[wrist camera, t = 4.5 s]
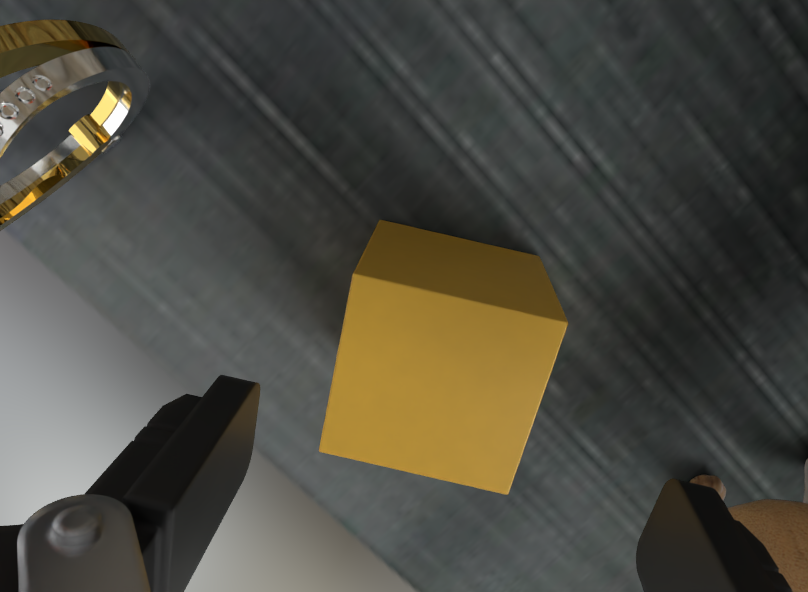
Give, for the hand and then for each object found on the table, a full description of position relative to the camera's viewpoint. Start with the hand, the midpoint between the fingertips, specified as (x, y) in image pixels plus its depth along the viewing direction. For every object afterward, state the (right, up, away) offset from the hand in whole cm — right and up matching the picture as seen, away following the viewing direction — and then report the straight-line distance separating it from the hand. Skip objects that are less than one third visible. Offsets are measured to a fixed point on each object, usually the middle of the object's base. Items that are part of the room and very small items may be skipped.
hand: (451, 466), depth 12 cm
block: (0, +3, +7) cm, 8 cm away
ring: (-10, +8, +6) cm, 14 cm away
